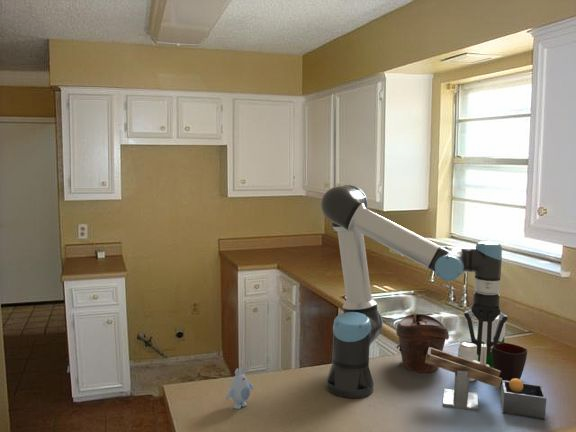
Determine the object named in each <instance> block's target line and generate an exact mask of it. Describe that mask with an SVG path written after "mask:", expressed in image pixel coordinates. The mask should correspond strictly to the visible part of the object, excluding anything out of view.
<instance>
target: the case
mask: <svg viewBox="0 0 576 432" xmlns="http://www.w3.org/2000/svg"><path fill="white" fill-rule="evenodd" d="M396 336H398V341H399V345H397V346H396V350H398V349H399V352H400V354H401V361H402V365H403V366H404V367H405V368H407V369H408V370H410V371H413V372H417V373H431V372H435V371H437V370H438V369H439V367H437V366H434V365H431V364H428V363H425V360H426V355H427V351H428V348H429V347H431V348H434V349H437V350H440V351H443V352H444V347H445V343H446V340H447V341H448V340H449V339H450V335H449V331H448V328H447V327H446V326H445V325H444V324H443V323H442V322H441V321H440V320H438V319H437V318H435V317H433V316H430V315H427V314H424V313H412V314H410V315H407V316H405V317H403V318H402V319H400V321H399V322H398V324H396Z"/></svg>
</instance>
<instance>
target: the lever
mask: <svg viewBox="0 0 576 432" xmlns="http://www.w3.org/2000/svg"><path fill="white" fill-rule="evenodd" d="M425 363H428V364H431V365H434V366H437V367H438V368H440V369H442V370H446V371H449V372H452V373H454V374H455V373H457V369H458V370H466V371H468V377H469V378H472V379H475V381H477V382H481V383H484V384H486V385H489V386H493V387H495V388H498V389H499V388H500V387H501V381H502V378H500V377H499V375H500V372H501V371H500V370H497V369H494V367H491V366H489V365H488V364H486V366H485V365H482V364H480V362H479V361H476V360H473V361H470V360H467V359H464V358H461V357H458V355H454V354H451V353H450V352H447V351H446V352H445V351H444V350H443V351H440V350H437V349H434V348H431V347H429V348H428V351H427V355H426V360H425Z"/></svg>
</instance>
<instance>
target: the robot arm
mask: <svg viewBox="0 0 576 432" xmlns="http://www.w3.org/2000/svg"><path fill="white" fill-rule="evenodd" d="M320 206H321V207H320V208H321V211H322V214H323V216H324V217H325V218H326V219H327V220H329V221H330V222H331V228H332V229H334V230H335V231H336V232H337V237H338V238H337V239H338V245H339V252H340V253H339V254H340V261H341V268H342V269H341V271H342V277H343V284H344V292H345V298H346V301H345V302H344V303H343V304H342V313H340V314H338V315H337V316H336V317H335V318H334V320H333V325H332V353H331V355H332V357H331V358H332V359H331V360H332V361H331V366H330V368H329V371H328V374H327V376H326V380H325V388H326V390H327V391H328V392H329V393H331V394H333V395H335V396H337V397H341V398H347V399H349V398H350V399H359V398H365V397H367V396H370V395H371V394H372V393H373V392H374V385H375V384H374V379H373V377H372V374H371V369H370V346H371V345H372V344H373V343H374V342H375V340H376V339H377V338H378V337H379V335H380V334H381V331H382V328H383V317H382V314H381V313H380V311H379V310H378V303H377V301H376V300H375V299H374V298H373V297H372V291H371V284H370V274H369V268H368V258H367V251H366V243H365V236H366V237H368V238H369V239H371V240H373V241H375V242H377V243H379V244H381V245H383V246H385V247H387V248H389V249H390V250H393V251H394V252H396V253H398V254H399V255H402V256H403V257H405V258H408V259H410V260H411V261H414V262H415V263H417V264H419V265H421V266H423V267H424V268H426V269H429V270H431V271H432V272H434V273H436V275H437V276H438V277H439V279H440V280H443V281H445V282H451V281H453V282H454V281H455V280H456V279H458V278H459V277H460V276H461V275H463V273H464V272H469V273H474V284H473V290H474V292H473V303H472V307H471V309H469V310H465V311H464V313H463V316H464V318H465V319H466V321H467V326H468V331H469V336H470V342H472V343H475V344H476V345H477V355H480V364H482V365H485V366H486V356H489V357H490V352H491V346H494V345H495V346H496V345H497V343H498V340H499V337H500V334H501V331H502V328H503V325H504V323H505V322H506V323H507V321H508V315H507V314H504V313H503V312H501V309H500V298H501V296H500V291H501V274H502V261H503V255H502V254H503V251H502V250H503V247H502V246H501V244H500V243H498V242H493V241H478V242H476V243H475V245H476V246H475V247H462V246H454V245H451V246H450V245H439V244H436V243H435V242H432V241H430V240H429V239H427V238H426V237H423V236H421V235H419V234H417V233H415V232H414V231H411V230H409V229H407V228H405V227H403V226H401V225H400V224H397V223H396V222H394V221H391V220H390V219H388V218H386V217H384V216H382V215H380V214H378V213H376V212H374V211H372V210H370V209H369V208H368V198H367V195H366V194H365V192H364V191H363V190H362V189H361V188H360V187H358V186H356V185H351V184H345V185H342V186H341V185H340V186H335V187H331V188H330V189H328V190H327V191H326V192H325V193H324V194H323V196H322V198H321V201H320ZM473 315H474V317H475V318H476V320H477V319H478V320H477V332H478V336H477V335H476V336H475V331H474V325H473V320H472V317H473ZM498 315H499V323H498V326H497V329H496V332H495V335H494V338H493V340H492V341H491V333H492V322H493V321H494V320H495V319H496V318H497V316H498ZM485 321H486V322H487V344H484V345H483V344H481V343H482V328H483V322H485ZM483 352H484V354H483Z"/></svg>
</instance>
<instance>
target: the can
mask: <svg viewBox="0 0 576 432" xmlns="http://www.w3.org/2000/svg"><path fill="white" fill-rule="evenodd" d="M457 349H458V351H457V356H458V357H461V358H464V359H467V360H470V361H473V360H476V361H478V355H477V345H476V344H475V343H472V342H471V340H470V341H469V340H464V341H463V340H462V341H460V342H459V345H458V347H457ZM474 381H475V382H476V380H475V379H472V378H469V383H470V382H471V383H472V382H474Z"/></svg>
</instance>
